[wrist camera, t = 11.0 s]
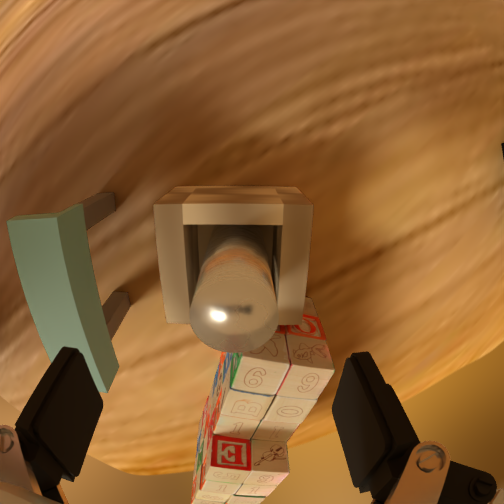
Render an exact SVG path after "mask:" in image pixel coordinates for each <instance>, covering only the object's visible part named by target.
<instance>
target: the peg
mask: <svg viewBox="0 0 504 504" xmlns="http://www.w3.org/2000/svg"><path fill="white" fill-rule="evenodd" d="M189 317H190V324H191V327H192V329H193V331H194V333H195V334H196V335H197V337H198V338H199V339H200V340H201V341H202V342H204V343H205V344H206V345H208V346H209V347H211V348H213V349H216V350H219V351H223V352H228V353H242V352H247V351H251V350H254V349H256V348H258V347H260V346H262V345H263V344H265V343H266V342H267V341H268V340H269V339H270V338H271V337H272V336H273V334H274V333H275V331H276V329H277V326H278V322H279V312H278V307H277V302H276V297H275V292H274V287H273V282H272V277H271V272H270V267H269V262H268V257H267V252H266V247H265V242H264V237H263V233H262V231H261V229H260V227H259V226H258V225H223V224H216V226H215V227H214V228H213V230H212V233H211V236H210V239H209V243H208V246H207V250H206V253H205V257H204V260H203V264H202V267H201V271H200V274H199V278H198V282H197V285H196V289H195V293H194V296H193V300H192V304H191V308H190V313H189Z"/></svg>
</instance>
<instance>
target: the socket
mask: <svg viewBox="0 0 504 504" xmlns="http://www.w3.org/2000/svg"><path fill="white" fill-rule="evenodd" d="M153 209H154V222H155V234H156V244H157V254H158V263H159V272H160V280H161V287H162V295H163V302H164V309H165V315H166V322H167V323H179V324H190V317H189V313H190V308H191V304H192V300H193V296H194V293H195V289H196V285H197V282H198V278H199V274H200V271H201V267H202V264H203V260H204V257H205V253H206V250H207V246H208V243H209V239H210V236H211V233H212V230H213V228H214V227H215V226H216V224H223V225H258V226H259V227H260V229H261V231H262V233H263V237H264V242H265V247H266V252H267V257H268V262H269V267H270V272H271V277H272V282H273V287H274V292H275V297H276V302H277V307H278V312H279V322H278V325H302V318H303V310H304V302H305V293H306V284H307V275H308V266H309V255H310V245H311V234H312V222H313V209H314V205H313V204H312V203H311V202H310V201H309V200H308V199H307V198H306V197H305V196H304V194H303V193H302V192H301V191H300V190H299V189H298V188H297V187H282V186H176V187H175V188H173V189H172V190H171V191H170V192H168V193H167V194H166V195H164V196H163V197H162V198H161V199H159V200H158V201H157V202H156V203H154V204H153Z"/></svg>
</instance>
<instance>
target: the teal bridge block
mask: <svg viewBox="0 0 504 504" xmlns="http://www.w3.org/2000/svg"><path fill="white" fill-rule="evenodd" d="M114 211H116V208H115V197H114V192H111V193H98V194H96V195H94V196H92V197H90V198H88V199H86V200H84V201H81V202H79V203H77V204H75V205H73V206H71V207H69V208H67V209H65V210H63V211H61V212H59V213H45V214H32V215H20V216H15V217H13V218H11V219H9V220H7V221H6V222H7V227H8V232H9V237H10V242H11V246H12V251H13V255H14V259H15V263H16V267H17V270H18V274H19V278H20V281H21V284H22V288H23V291H24V294H25V297H26V300H27V303H28V306H29V309H30V312H31V315H32V317H33V320H34V323H35V325H36V328H37V331H38V333H39V336H40V338H41V340H42V343H43V345H44V347H45V350H46V352H47V354H48V357H49V359H50V361H51V363H52V362H53V360H54V358H55V357H56V355H57V354H58V352H59V351H60V349H61V348H62V347H64V346H66V347H72V348H77V349H78V350H79V351H80V353H82V354H83V355H84V358H85V360H86V363H87V366H88V368H89V370H90V373H91V375H92V378H93V380H94V382H95V385H96V387H97V389H98V391H99V392H104V393H108V391H109V389H110V386H111V384H112V382H113V380H114V377H115V375H116V373H117V371H118V368H119V364H118V361H117V358H116V355H115V352H114V349H113V345H112V342H111V340H112V338H113V336H114V335H115V333H116V331H117V329H118V327H119V326H120V324H121V322H122V320H123V319H124V317H125V315H126V313H127V312H128V310H129V308H130V307H131V306H130V301H129V296H128V292H113V293H112V294H111V295H110V297H109V298H108V299H107V301H106V302H105V304H104V305H103V306H101V302H100V298H99V294H98V290H97V285H96V281H95V276H94V271H93V266H92V261H91V256H90V250H89V244H88V238H87V232H86V230H88V229H89V228H91V227H92V226H93V225H95V224H96V223H98V222H99V221H101V220H102V219H104V218H105V217H107V216H108V215H110V214H111V213H113V212H114Z"/></svg>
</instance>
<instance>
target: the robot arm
mask: <svg viewBox="0 0 504 504" xmlns="http://www.w3.org/2000/svg"><path fill="white" fill-rule="evenodd" d="M102 409H103V400H102V398H101V396H100V394H99V391H98V389H97V387H96V385H95V382H94V380H93V378H92V375H91V373H90V370H89V368H88V366H87V363H86V360H85V358H84V355H83V354H82V353H80V351H79V350H78V349H77V348H72V347H66V346H64V347H62V348H61V349H60V351H59V352H58V354H57V355H56V357H55V358H54V360H53V362H52V363H51V365H50V366H49V368H48V369H47V371H46V372H45V374H44V376H43V377H42V379H41V380H40V382H39V384H38V385H37V387H36V389H35V390H34V392H33V394H32V395H31V397H30V399H29V400H28V402H27V404H26V406H25V407H24V409H23V411H22V413H21V415H20V416H19V418H18V420H17V422H16V423H15V426H16V428H15V430H14V429H13V428H12V427H10V426H7V425H0V504H69V503H68V501H67V499H66V497H65V494H64V492H63V490H62V488H61V485H60V480H61V478H63V479H66V480H69V481H72V482H74V479H75V477H77V476H78V475H79V474H80V471H81V468H82V465H83V462H84V459H85V456H86V453H87V450H88V447H89V444H90V442H91V439H92V436H93V433H94V431H95V428H96V425H97V422H98V420H99V417H100V415H101V412H102ZM332 414H333V417H334V420H335V424H336V427H337V430H338V434H339V437H340V440H341V444H342V447H343V451H344V454H345V457H346V461H347V464H348V468H349V471H350V475H351V478H352V482H353V485H354V487H356V488H357V487H359V490H360V493H363V492H368V491H370V492H371V495H372V498H373V501H372V502H371V504H504V489H502V488H501V489H500V490H497V486H496V481H495V479H494V477H493V476H492V475H491V474H489V473H487V472H484V471H480V470H477V469H474V468H471V467H468V466H465V465H462V464H459V463H456V462H453V461H450V455H449V452H448V450H447V449H446V447H444V446H443V445H442V444H440V443H438V442H435V441H424V442H422V443H420V441H419V439H418V437H417V435H416V433H415V431H414V429H413V427H412V425H411V423H410V421H409V419H408V417H407V415H406V413H405V411H404V409H403V407H402V406H401V403H400V401H399V399H398V397H397V395H396V393H395V392H394V390H393V388H392V387H391V385H389V384H386V383H385V381H384V379H383V377H382V375H381V373H380V371H379V369H378V367H377V366H376V364H375V362H374V360H373V358H372V356H371V354H370V353H369V352H359V353H352V355H351V357H350V358H347V359H346V362H345V365H344V369H343V372H342V376H341V379H340V383H339V386H338V389H337V393H336V396H335V399H334V402H333V405H332Z"/></svg>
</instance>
